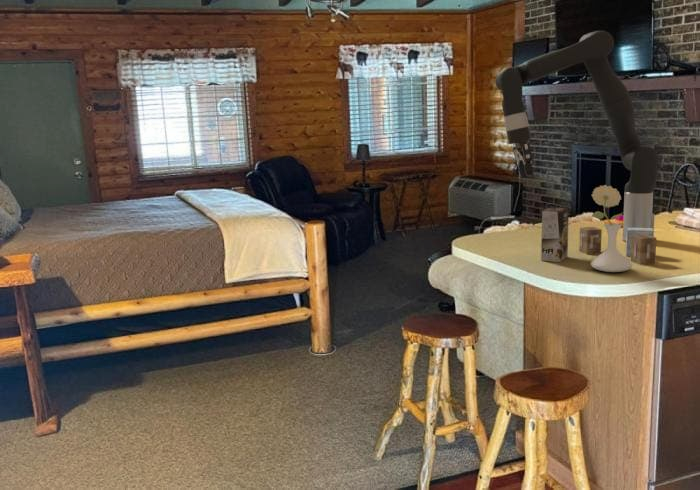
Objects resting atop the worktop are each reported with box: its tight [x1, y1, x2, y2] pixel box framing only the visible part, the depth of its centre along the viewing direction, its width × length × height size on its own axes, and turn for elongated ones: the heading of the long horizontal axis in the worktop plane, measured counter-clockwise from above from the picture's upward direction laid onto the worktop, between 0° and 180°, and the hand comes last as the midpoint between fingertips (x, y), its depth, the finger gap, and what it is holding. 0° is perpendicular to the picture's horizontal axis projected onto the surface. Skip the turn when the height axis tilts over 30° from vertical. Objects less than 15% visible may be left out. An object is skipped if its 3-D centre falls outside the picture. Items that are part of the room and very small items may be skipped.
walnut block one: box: [630, 235, 657, 266], centre depth 204 cm, size 5×5×8 cm
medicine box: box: [625, 228, 655, 257], centre depth 214 cm, size 8×4×9 cm, turn 71°
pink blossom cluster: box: [603, 214, 624, 228], centre depth 267 cm, size 8×8×4 cm
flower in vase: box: [590, 184, 633, 273], centre depth 195 cm, size 13×11×25 cm
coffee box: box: [540, 206, 570, 263], centre depth 213 cm, size 9×6×16 cm
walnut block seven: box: [578, 226, 603, 255], centre depth 221 cm, size 5×5×8 cm
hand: (526, 175), depth 226 cm, fingers open, 8 cm apart
